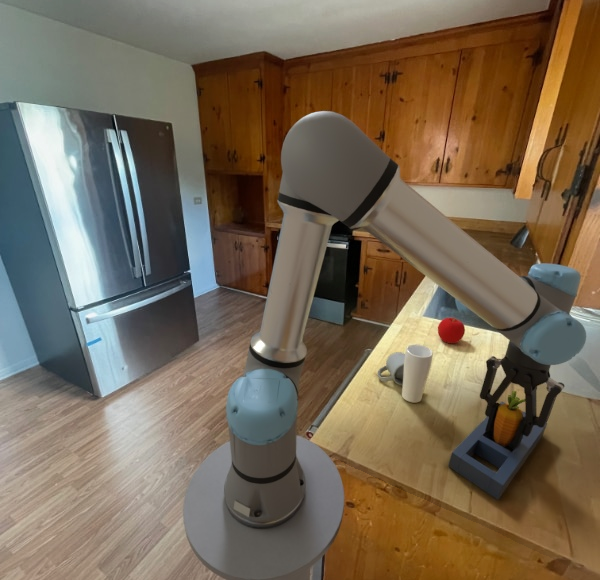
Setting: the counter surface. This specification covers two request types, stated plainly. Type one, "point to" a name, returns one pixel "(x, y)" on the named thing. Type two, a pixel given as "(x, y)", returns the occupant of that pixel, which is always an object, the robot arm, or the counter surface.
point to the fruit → (451, 330)
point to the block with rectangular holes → (492, 458)
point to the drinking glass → (416, 372)
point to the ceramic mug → (393, 368)
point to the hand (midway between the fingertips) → (502, 435)
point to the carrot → (507, 420)
